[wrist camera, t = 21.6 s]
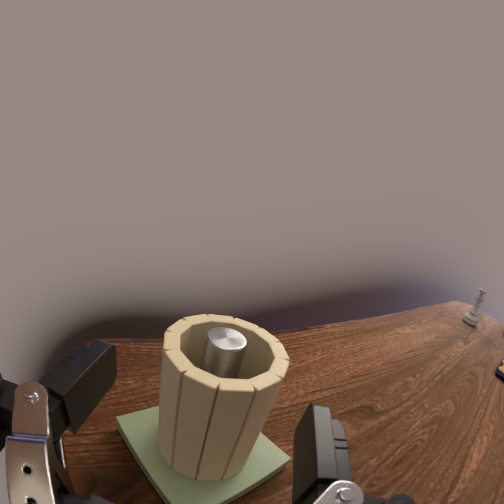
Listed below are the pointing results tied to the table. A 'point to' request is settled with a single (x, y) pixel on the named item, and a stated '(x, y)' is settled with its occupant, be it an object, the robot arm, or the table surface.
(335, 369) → the table surface
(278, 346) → the slatted wooden tube
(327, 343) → the table surface
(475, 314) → the chess piece
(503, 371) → the smartphone
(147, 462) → the stand
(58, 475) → the robot arm
